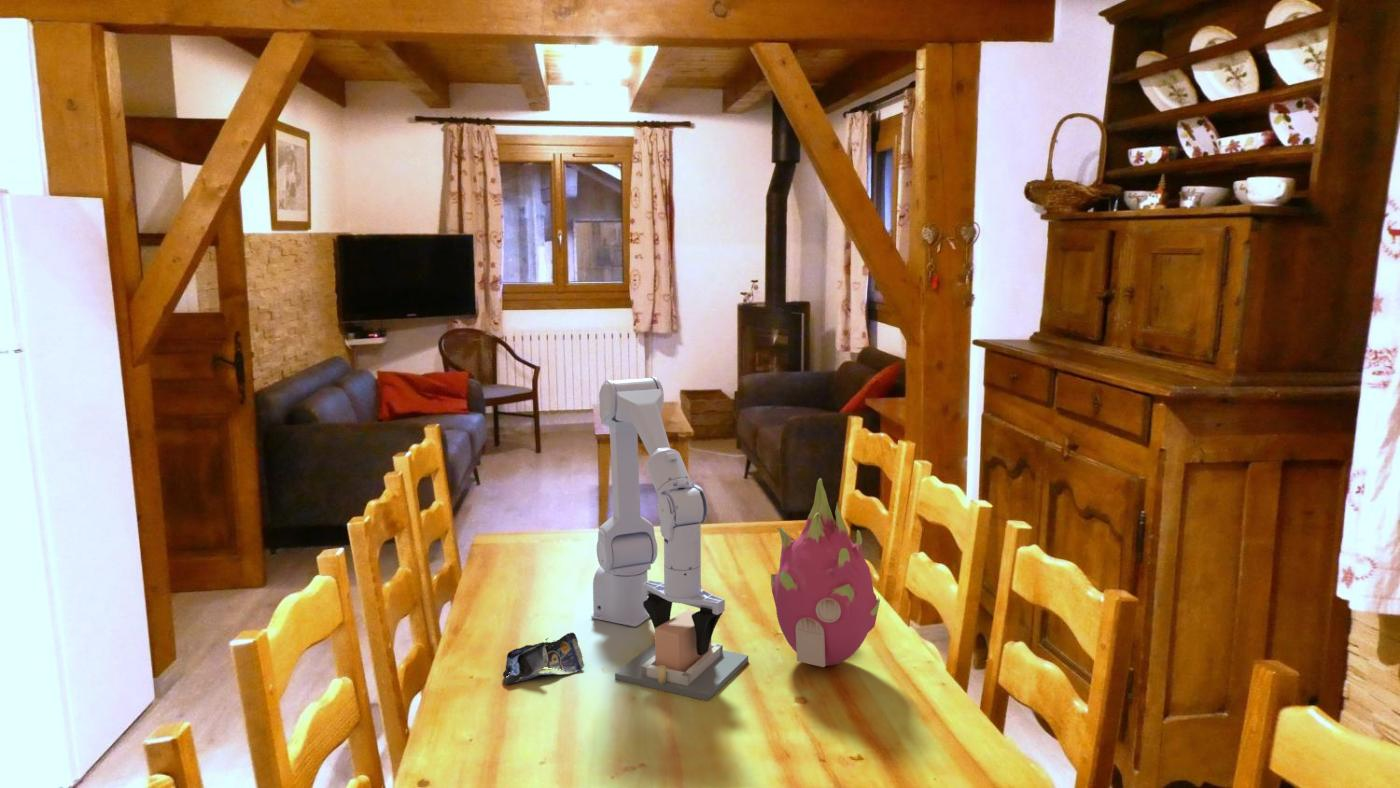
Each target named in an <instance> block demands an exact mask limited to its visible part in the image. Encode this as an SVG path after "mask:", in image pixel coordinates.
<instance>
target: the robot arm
mask: <svg viewBox="0 0 1400 788" xmlns="http://www.w3.org/2000/svg"><path fill="white" fill-rule="evenodd" d="M663 388H664V387H663V384H662V383H661V382H660V380H659V378H657V377H655V376H650V377H646V378H631V379H617V380H611V379H606V380H605V381H603V383H602V385H601V386H600V390H599V393H598V399H599V400H598V402H599V417H600V424H602V425H605V426H607V427H608V429H609V430H608V431H609V442H610V443H609V445H610V469H611V473H610V475H611V492H612V495H611V497H612V498H611V499H612V516H611V517H609V518H608V519H607V520H606V521H605V522H604V523H603V524H601V525H600V526H599V527H598V531H597V532H598V533H597V542H596V557H597V561H598V564H599V567H598V568H597V570H596V571H595V573H594V577H593V582H592V600H593V605H592V606H593V607H592V608H593V614H591V616H590V617H591V618H592V619H595V620H601V621H604V622H610V623H615V624H619V625H624V626H630V627H638V626H639V625H641V624H643V623H644V622H645V621H646V620H648V619H650V621H651V623H652V626H653V629H654V630H655V628H656V627H658V626H660V625H662V624H663V623H665V622H667V621H669V620H671V612H672V608H673V607H672V606H673V603H675V604H683V605H686V606H690V607H694V608H698V609H699V610H698V611H695V612H696V613H694V614H692V619H693V622H694V626H695V631H696V649H697V654H698V655H703V654H704V653H706V652H708V649H709V644H710V640H711V641H712V636H713V633H714V630H715V628H716V626H717V624H718V622H719V620H720V619H721V617H722V615H723V613H724V612H725V611H726V609H725V608H726V606H725V604H726V603H725V602H726V601H725V600H726V599H725V598H722V597H719V596H716V595H715V594H712V593H710V592H708V591H706V590H705V589H703V588H702V581H701V580H702V577H701V576H702V569H701V568H702V566H701V565H702V561H701V560H702V554H701V553H702V548H701V546H702V545H701V544H702V543H701V542H702V530H701V529H702V527H701V524H704V523H705V522H706V521H707V517H708V510H709V507H708V500H707V497H706V494H705V492H704V489H703V488H702V487H701V486H700V485H698V484H697V482H696V481H692V480H691V477H690V475H689V472H688V470H687V468H686V465H685V463H684V460H683V458H682V456H681V453H680V451H678V450H676V449H673V448H671V445H670V441H669V438H668V435H667V433H666V429H665V425H664V420H663V418H662V413H663V407H664V401H665V394H664V389H663ZM638 435H639V437H638ZM638 438H640V440H641V442H642V443H643V446H644V448H645V450H646V451H647V453H648V456H649V458H648V459H647V462H646V469H647V471H648V474H649V477H650V479H651V482H652V484H653V487H654V490H655V492H656V495H657V497H658V499H657V505H656V510H657V516H658V521H659V524H660V527H659V528H660V534H661V536H662V537H663V563H664V564H663V580H664V582H663V581H656V580H655V581H654V580H648V571H649V570H650V571H651V568H652V567H651V566H652V565H653V564H654V563H655V561H656V559H657V558H658V553H659V552H658V543H657V539H656V534H655V528H654V525H653V524H652V522H651V521H649V520H648V519H646V518H645V517H643V516H642V514H641V494H640V493H641V490H640V472H639V471H640V469H639V467H640V466H639V465H640V464H639V441H638V440H639V439H638Z"/></svg>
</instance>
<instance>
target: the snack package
mask: <svg viewBox="0 0 1400 788" xmlns="http://www.w3.org/2000/svg"><path fill="white" fill-rule="evenodd" d="M548 639H549V637H547V638H545V641H546V642H539V643H535V644H527V645H524V646H521V647H519V648H514V649H512V650H510V651H508V653H507V655H506V662H505V663H506V664H505V670H504V671H503V673H502V676H503V679H504V681H505V684H506V685H508V686H509V685H513V684H514V683H517V682H518V683H519V682H523V681H526V680H530V679H533V678H534V679H535V678H537V677H539V676H545V675H547V676H548V675H558V673H556V672H553V671H549V672H541V671H543V670H542V669H543V668H544V667H548V668H552V669H553V668H554V669H558V670H557V671H562V670H563V671H562V672H572V673H577V672H578V671H581V670H583V668H584V666H585V663H584V660H583V654H582V650H581V648H580V646H579V641H578V638H577V635H576V633H574V632H569V633H566V634H564V635H563V636H561V637H560V638H559V639H557V640H555V639H554V640H553V641H551V642H550V641H548ZM559 669H561V670H559ZM509 672H510V673H509ZM540 672H541V673H540ZM572 673H569V674H572ZM508 675H509V676H508ZM560 675H561V676H562V675H564V673H560ZM506 676H508V677H507V678H506Z"/></svg>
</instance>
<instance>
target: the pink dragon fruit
mask: <svg viewBox="0 0 1400 788" xmlns="http://www.w3.org/2000/svg"><path fill="white" fill-rule="evenodd" d="M815 487H816V489H815V494H814V500H813V505H812V508H811V509H810V513H809V514H808V516H807V519H806V522H805V526H804V527H803V529H802V532H801V533H800V535H799V537H798V538H797V539H794V538H793V537H792V536H791V535H790V534H788V532H787V531H786V530H785V529H783V528H782V527H781V526H780V527H777V528H776V529H777V530H778V531H779V534H780V539H781V550H780V558H779V568H778V572H777V573H770V575H771V576H770V586H771V593H772V596H773V600H774V605H775V610H776V611H775V612H776V617H777V621H778V624H779V627H780V630H781V632H782V634H783V636H784V638H785V640H786V642H787V643H788V645H789V646H790V647H791V648H792V650H793V651H794V652H795V653H796V661H797V662H800V663H805V664H807V665H812V666H817V667H821V668H825V667H826V666H827V667H829V666H834V665H839V664H841V663H843V662H845V661H846V660H848V659H850V658H851V657H853V655H855V653H856V652H857V651H858V650H859V649H860V647H861V646H862V644H863V643H864V641H865V639H866V638H867V635H868V634H869V633H870V632H871V631H872V629H874V628H875V626H876V621H877V617H878V612H879V607H880V601H881V598H880V597H877V595H876V594H875V592H874V585H873V579H872V574H871V569H870V567H869V564H868V563H867V561H866V560H865V558H864V556H863V547H862V546H863V537H862V534H861V531H860V530H859V529H857V531H856V542H855V543H854V542H853V541H852V540H851V538H850V535H849V531H848V528H847V526H846V523H845V522H844V519H843V516H842V515H843V514H842V513H841V511H840V508H839V504H838V501H836V506H835V511H834V514H835V518H834V516H833V513H832V510H831V507H830V505H829V504H830V503H829V501H828V496H827V492H826V490H825V488H824V484H823V479H822V478H821V477H820V478H818V480H817V482H816V486H815Z"/></svg>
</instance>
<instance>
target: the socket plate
mask: <svg viewBox="0 0 1400 788" xmlns="http://www.w3.org/2000/svg"><path fill="white" fill-rule="evenodd" d="M723 648H724V646H723V644H719V643H715V642H711V650H710V651H708V652H707V653H706V654H705V655H704V656H703V657H702V658H700V659H699V660H698V661H697V662H696V663H695V664H694V665H692V666H691V667H690V668H689V669H688V670H687V671H686V672H681V671H676V670H672V669H667V668H666V666H665V665H659V666H655V642H653V643H652V644H651V645H650V646H648V647H647V648H646V649H644V650H643V651H641V653H640V654H638V655H636V657H634V658H633V659H631V661H629V662H628V663H626V664H624V666H622V667H621V668H620V669H619V670H617V671H616V672H615V673H614V680H617V681H621V682H625V683H630V684H632V685H633V684H634V685H637V686H642V687H646V688H649V689H650V688H651V689H655V690H658V691H659V690H660V691H664V692H667V693H672V694H676V695H680V696H685V697H690V698H694V699H697V700H702V701H706V702H708V701H709V700H710V699H711V698H712V697H714V696H715V695H716V693H717V692H719V691H720V690H721V689H722V688H723V686H724V685H726V684H727V683H728V682H729V681H730V680H731V679H732V678H733V677H734V676H735V675H736V674H737V673H738V672H739V671H740V670H741V669H742V668H743V667H744V666H745V665H746V664H747V663H748V662H749V655H748V654H742V653H737V652H732V651H730V650H724V649H723Z"/></svg>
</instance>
